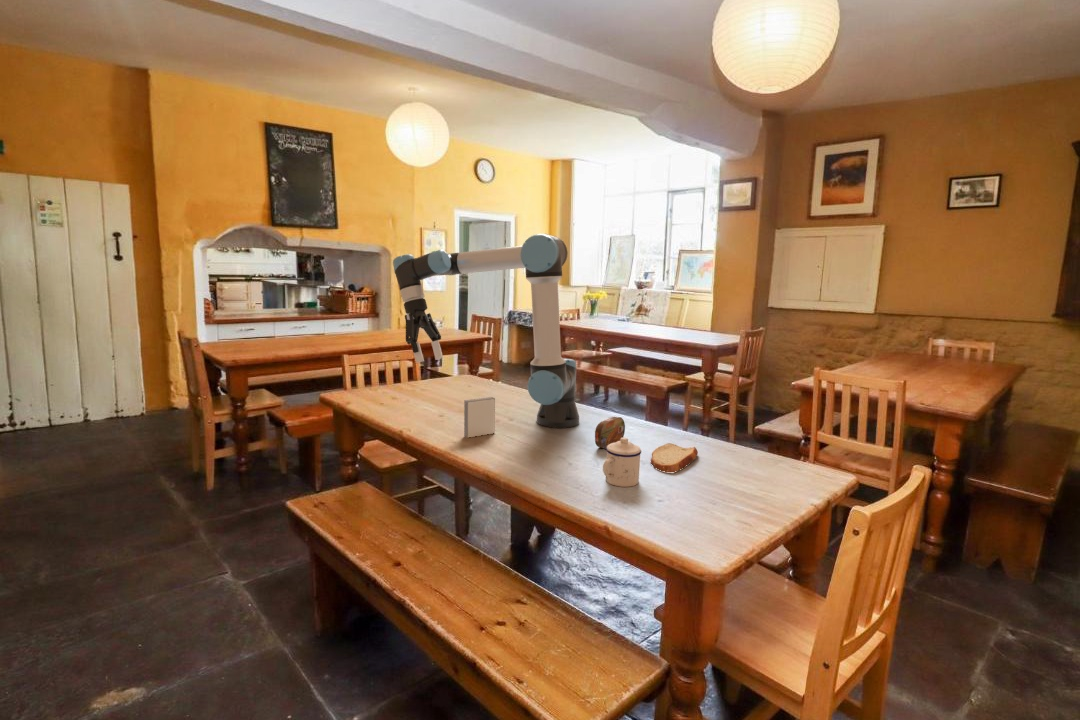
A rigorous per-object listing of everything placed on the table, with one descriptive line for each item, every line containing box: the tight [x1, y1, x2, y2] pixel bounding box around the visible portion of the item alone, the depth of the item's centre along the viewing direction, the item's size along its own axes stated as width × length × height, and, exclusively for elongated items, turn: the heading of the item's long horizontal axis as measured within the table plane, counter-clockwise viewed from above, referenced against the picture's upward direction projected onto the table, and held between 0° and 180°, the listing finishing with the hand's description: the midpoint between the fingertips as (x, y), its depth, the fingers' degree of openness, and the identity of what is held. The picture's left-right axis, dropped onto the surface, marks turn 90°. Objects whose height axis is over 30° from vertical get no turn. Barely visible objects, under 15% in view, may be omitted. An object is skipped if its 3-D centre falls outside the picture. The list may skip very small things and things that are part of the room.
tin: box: [594, 416, 626, 450], centre depth 175 cm, size 15×3×8 cm, turn 143°
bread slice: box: [650, 442, 699, 472], centre depth 163 cm, size 18×18×4 cm
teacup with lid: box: [602, 437, 642, 488], centre depth 145 cm, size 12×9×12 cm
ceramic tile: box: [463, 396, 496, 439], centre depth 181 cm, size 2×10×12 cm, turn 123°
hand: (430, 360), depth 191 cm, fingers open, 13 cm apart
